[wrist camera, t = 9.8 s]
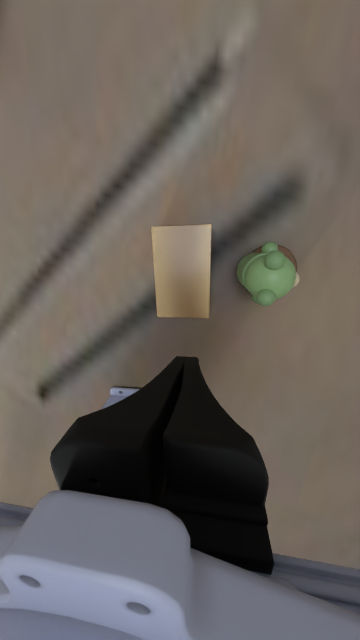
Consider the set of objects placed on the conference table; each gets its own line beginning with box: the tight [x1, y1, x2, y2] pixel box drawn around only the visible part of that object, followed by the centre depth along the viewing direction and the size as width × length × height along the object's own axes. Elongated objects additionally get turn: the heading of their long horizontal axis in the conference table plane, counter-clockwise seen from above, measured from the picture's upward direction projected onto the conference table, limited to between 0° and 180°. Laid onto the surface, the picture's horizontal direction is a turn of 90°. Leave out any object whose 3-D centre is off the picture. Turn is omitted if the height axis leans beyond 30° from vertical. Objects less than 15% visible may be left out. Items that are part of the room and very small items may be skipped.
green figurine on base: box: [236, 242, 300, 306], centre depth 16 cm, size 8×5×7 cm
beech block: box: [151, 224, 212, 318], centre depth 19 cm, size 5×8×3 cm, turn 2°
